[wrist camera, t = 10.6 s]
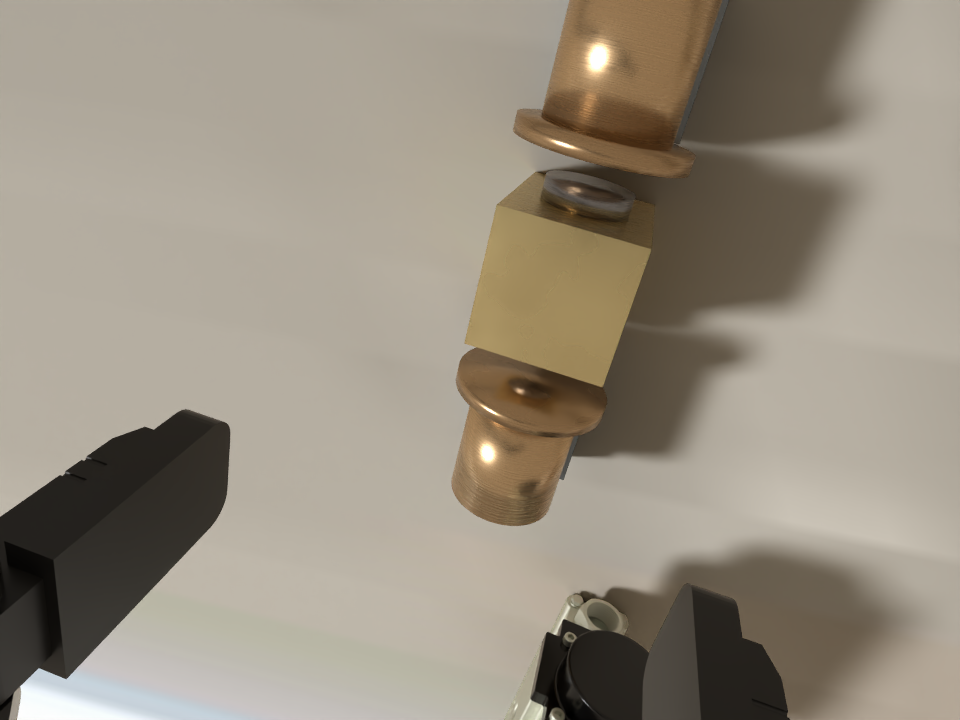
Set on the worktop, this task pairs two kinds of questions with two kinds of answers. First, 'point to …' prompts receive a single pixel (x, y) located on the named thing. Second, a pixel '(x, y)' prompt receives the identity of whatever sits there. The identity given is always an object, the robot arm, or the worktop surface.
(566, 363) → the block
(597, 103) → the pipe stubs
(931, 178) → the worktop surface
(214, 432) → the robot arm
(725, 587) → the worktop surface
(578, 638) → the pneumatic valve
